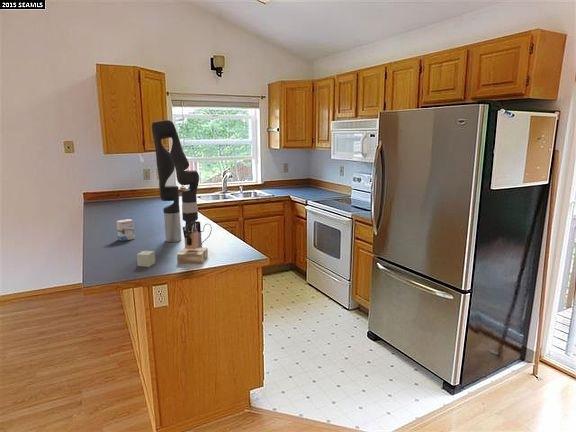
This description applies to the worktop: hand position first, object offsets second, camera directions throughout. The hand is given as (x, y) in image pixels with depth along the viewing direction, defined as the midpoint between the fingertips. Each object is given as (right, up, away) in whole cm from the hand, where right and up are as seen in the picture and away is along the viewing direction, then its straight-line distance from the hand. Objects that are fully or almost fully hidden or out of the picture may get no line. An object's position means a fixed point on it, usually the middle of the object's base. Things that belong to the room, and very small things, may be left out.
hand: (191, 243), depth 192 cm
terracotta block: (0, -2, 0) cm, 2 cm away
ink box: (-49, 0, +39) cm, 63 cm away
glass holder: (-1, -4, +21) cm, 21 cm away
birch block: (+1, -9, +1) cm, 9 cm away
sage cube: (-21, -10, -6) cm, 24 cm away
